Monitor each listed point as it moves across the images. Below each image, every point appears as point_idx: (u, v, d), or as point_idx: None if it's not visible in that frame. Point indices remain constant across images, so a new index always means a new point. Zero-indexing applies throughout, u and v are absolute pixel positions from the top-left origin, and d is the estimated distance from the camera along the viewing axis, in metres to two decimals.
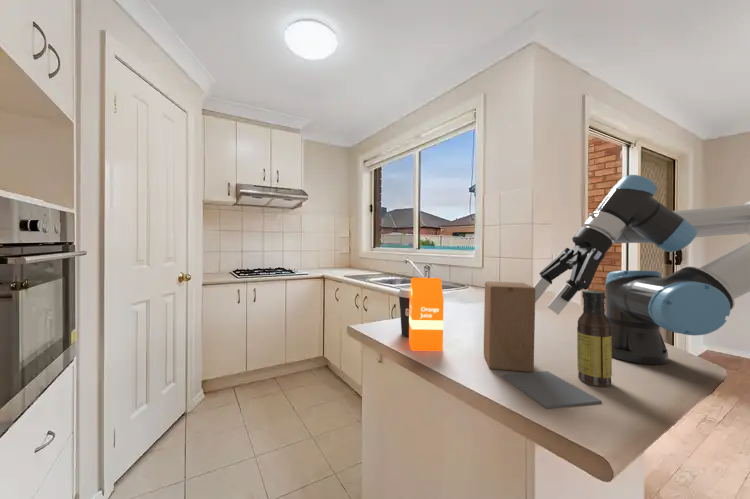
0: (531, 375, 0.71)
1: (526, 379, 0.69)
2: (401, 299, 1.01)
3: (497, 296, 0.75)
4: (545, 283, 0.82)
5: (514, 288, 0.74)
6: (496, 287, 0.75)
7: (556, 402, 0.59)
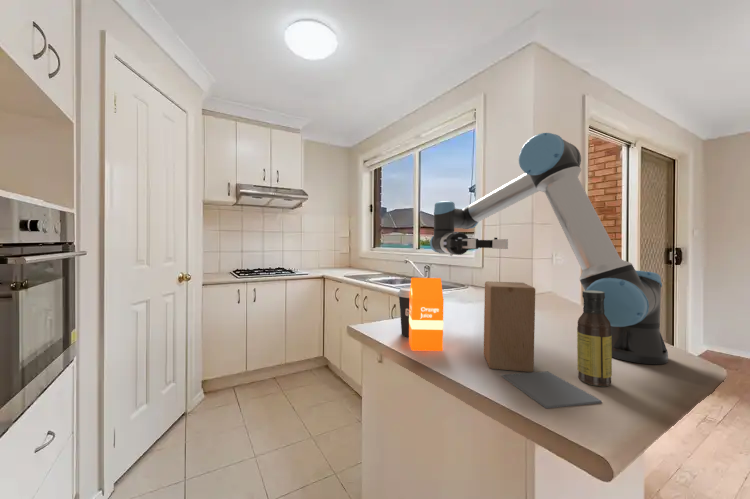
0: (531, 375, 0.71)
1: (526, 379, 0.69)
2: (401, 299, 1.01)
3: (497, 296, 0.75)
4: (493, 243, 0.93)
5: (514, 288, 0.74)
6: (496, 287, 0.75)
7: (556, 402, 0.59)
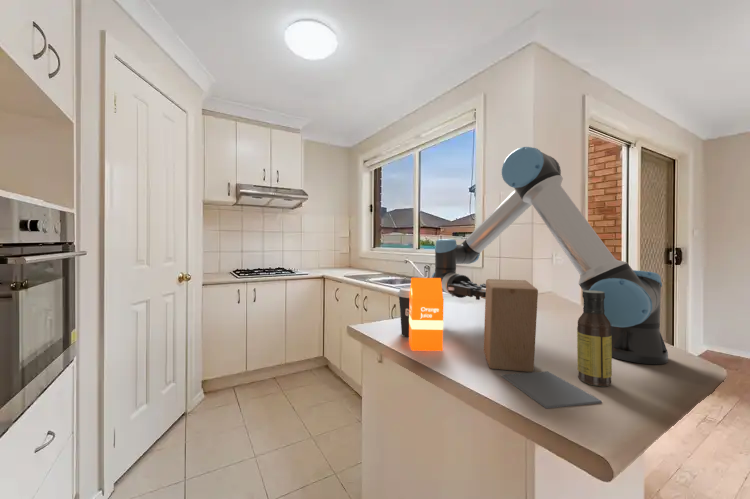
0: (531, 375, 0.71)
1: (526, 379, 0.69)
2: (401, 299, 1.01)
3: (498, 298, 0.73)
4: None
5: (516, 290, 0.72)
6: (497, 288, 0.73)
7: (556, 402, 0.59)
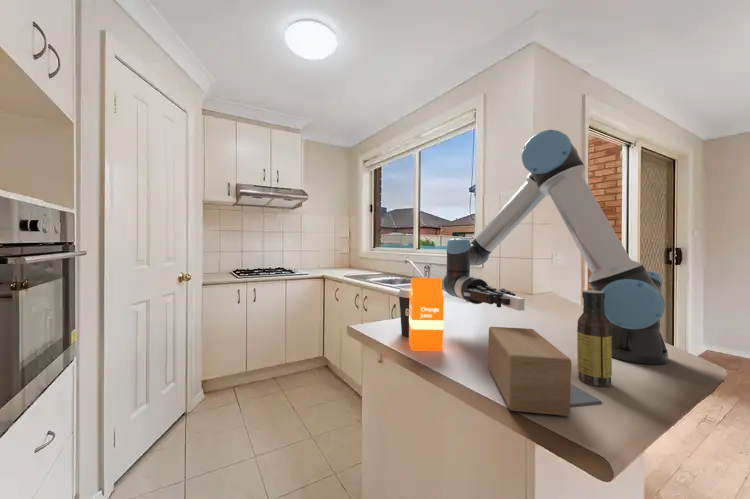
0: None
1: None
2: (401, 299, 1.01)
3: None
4: None
5: None
6: (517, 410, 0.55)
7: None
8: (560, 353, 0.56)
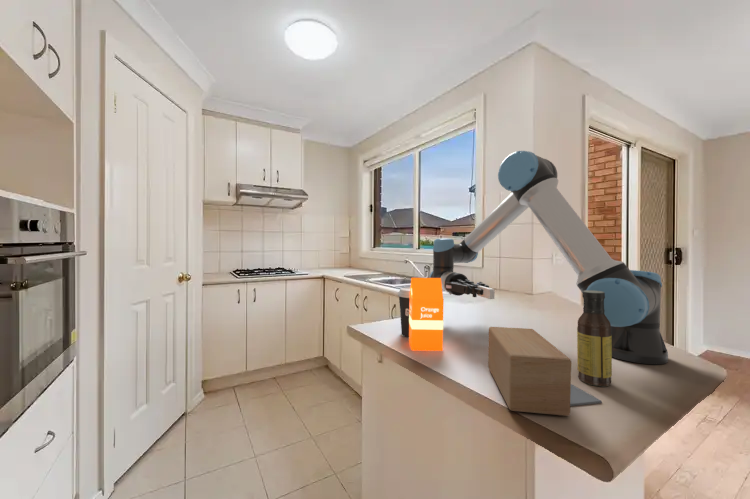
0: None
1: None
2: (401, 299, 1.01)
3: None
4: None
5: None
6: (517, 410, 0.55)
7: None
8: (560, 353, 0.56)
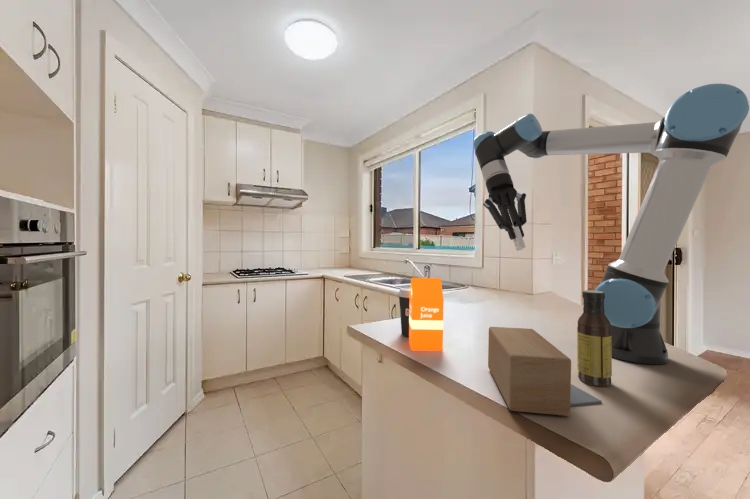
0: None
1: None
2: (401, 299, 1.01)
3: None
4: None
5: None
6: (517, 410, 0.55)
7: None
8: (560, 353, 0.56)
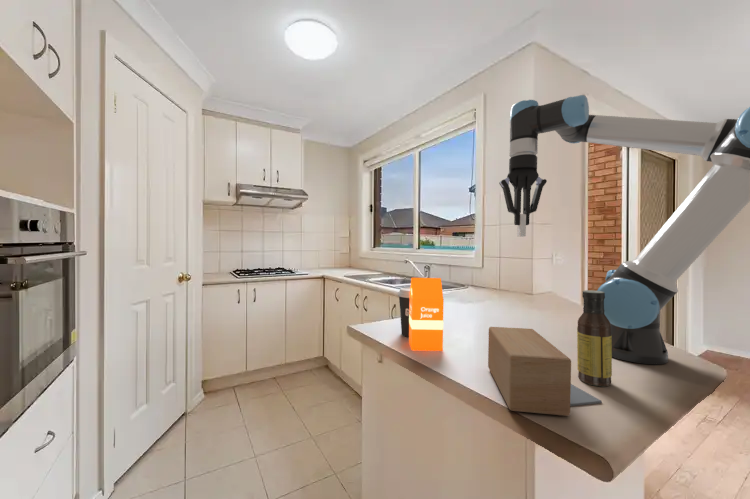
0: None
1: None
2: (401, 299, 1.01)
3: None
4: None
5: None
6: (517, 410, 0.55)
7: None
8: (560, 353, 0.56)
